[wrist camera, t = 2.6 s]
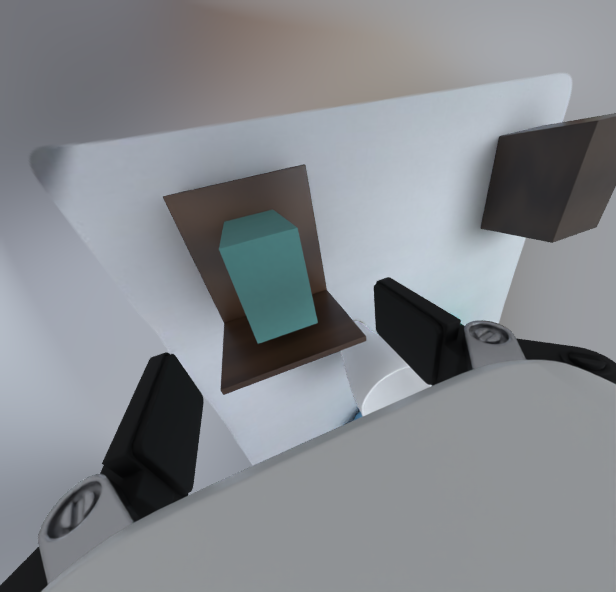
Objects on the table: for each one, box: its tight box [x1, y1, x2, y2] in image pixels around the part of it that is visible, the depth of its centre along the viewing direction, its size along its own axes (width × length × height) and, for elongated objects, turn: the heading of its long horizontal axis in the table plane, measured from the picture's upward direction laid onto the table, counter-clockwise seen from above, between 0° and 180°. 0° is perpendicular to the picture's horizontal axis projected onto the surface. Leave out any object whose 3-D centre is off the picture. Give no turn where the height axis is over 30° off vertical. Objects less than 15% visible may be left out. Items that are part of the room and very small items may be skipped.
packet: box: [219, 210, 318, 344], centre depth 18 cm, size 7×4×9 cm, turn 11°
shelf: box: [163, 165, 366, 395], centre depth 21 cm, size 13×12×16 cm
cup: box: [340, 321, 431, 416], centre depth 34 cm, size 10×10×14 cm
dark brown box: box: [481, 113, 616, 243], centre depth 31 cm, size 13×8×10 cm, turn 11°
